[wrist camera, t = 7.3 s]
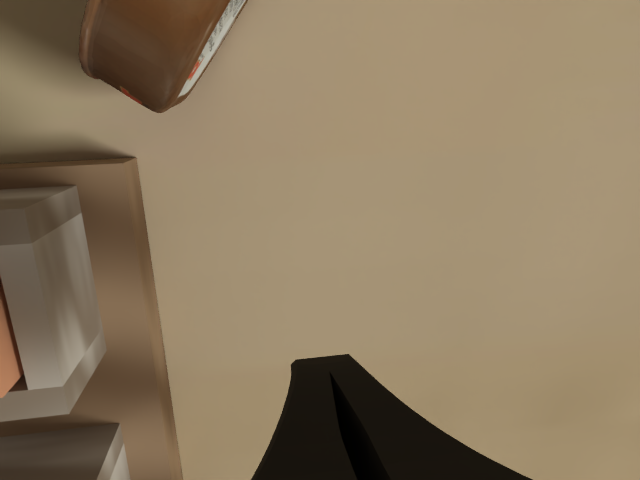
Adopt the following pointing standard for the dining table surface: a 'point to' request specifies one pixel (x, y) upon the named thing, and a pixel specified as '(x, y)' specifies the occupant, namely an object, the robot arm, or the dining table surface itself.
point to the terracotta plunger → (8, 349)
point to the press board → (82, 327)
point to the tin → (154, 45)
